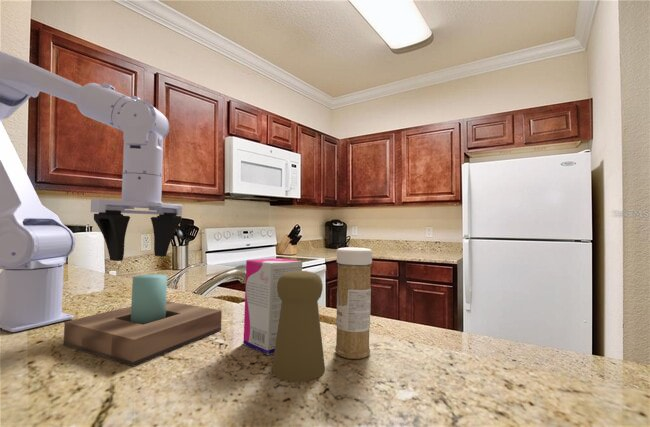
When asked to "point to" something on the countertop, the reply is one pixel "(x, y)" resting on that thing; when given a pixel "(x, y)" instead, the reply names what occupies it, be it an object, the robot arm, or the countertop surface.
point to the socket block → (140, 332)
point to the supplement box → (264, 301)
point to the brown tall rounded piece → (299, 328)
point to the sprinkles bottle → (353, 302)
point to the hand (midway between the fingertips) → (139, 258)
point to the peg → (148, 298)
